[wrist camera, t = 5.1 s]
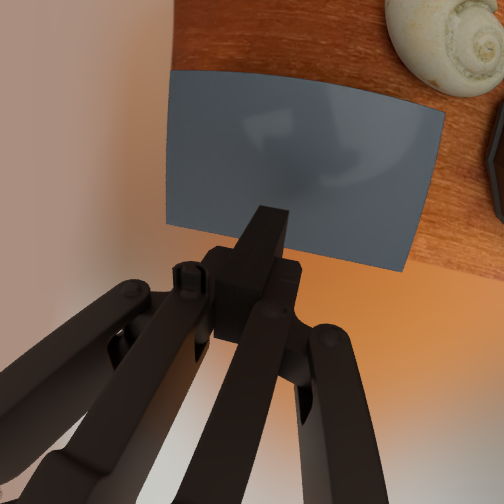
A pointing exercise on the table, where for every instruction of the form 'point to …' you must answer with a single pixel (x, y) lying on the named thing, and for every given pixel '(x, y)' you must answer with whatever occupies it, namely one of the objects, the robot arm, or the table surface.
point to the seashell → (449, 43)
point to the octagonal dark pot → (497, 163)
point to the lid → (300, 162)
